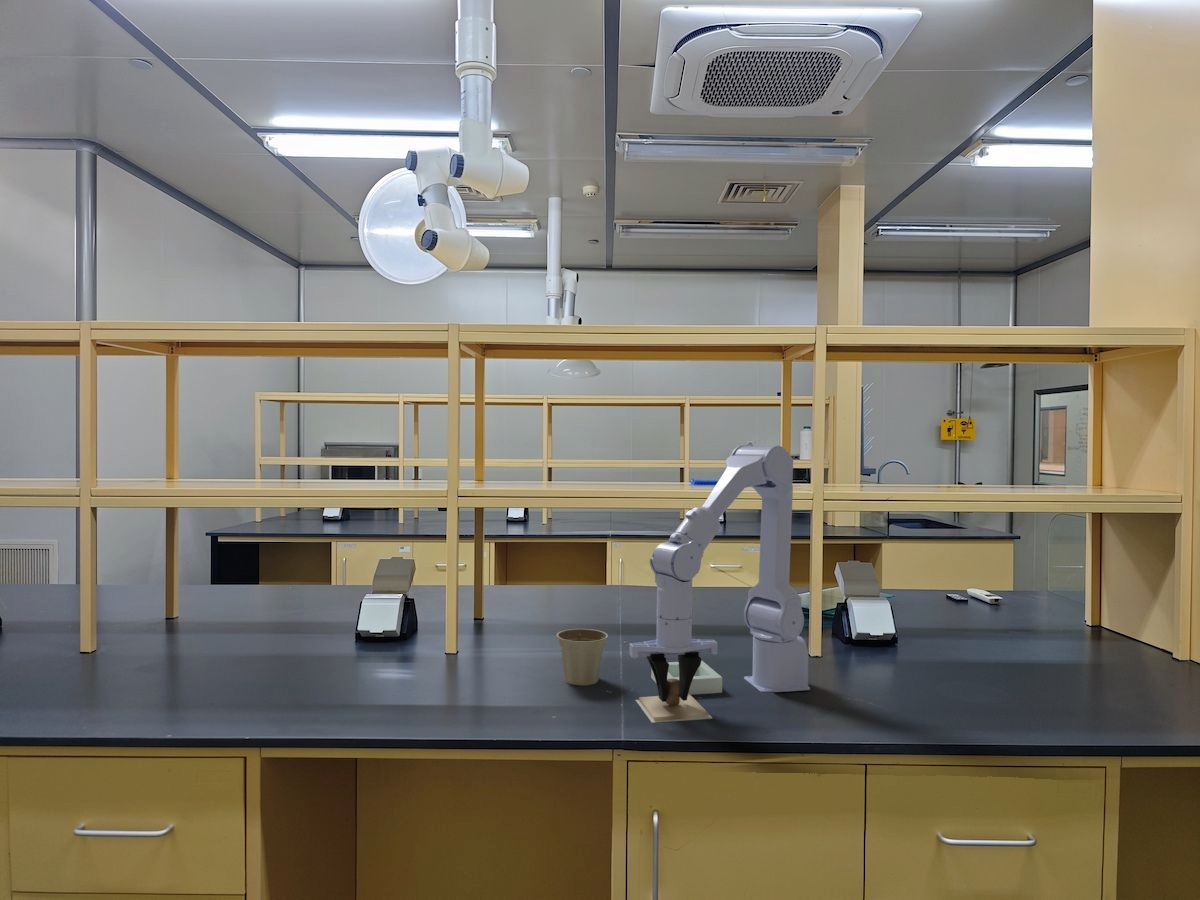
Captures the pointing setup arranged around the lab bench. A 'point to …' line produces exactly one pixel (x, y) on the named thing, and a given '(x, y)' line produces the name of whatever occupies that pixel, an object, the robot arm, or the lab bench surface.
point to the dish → (697, 679)
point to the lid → (673, 705)
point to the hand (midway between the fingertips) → (672, 699)
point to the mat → (667, 720)
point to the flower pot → (581, 655)
